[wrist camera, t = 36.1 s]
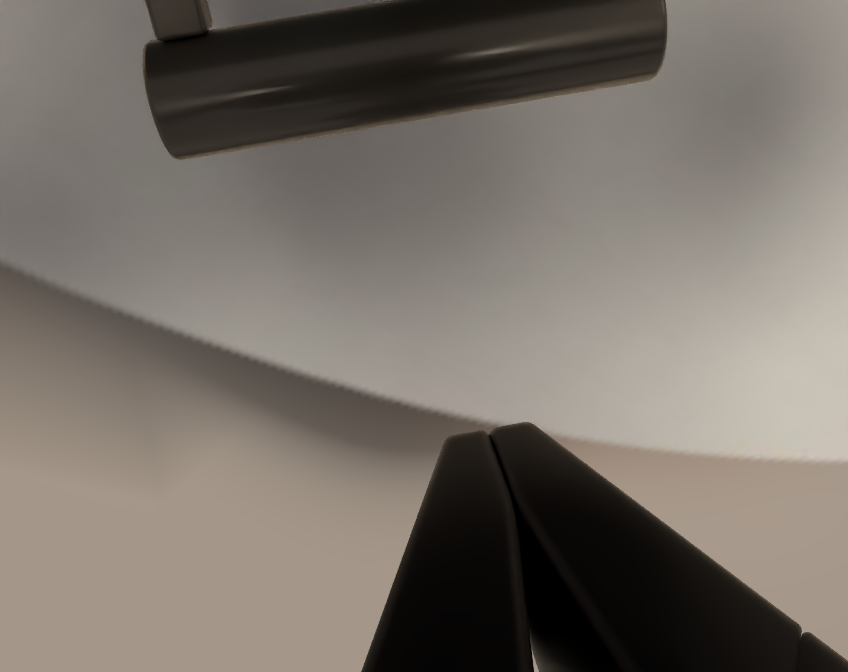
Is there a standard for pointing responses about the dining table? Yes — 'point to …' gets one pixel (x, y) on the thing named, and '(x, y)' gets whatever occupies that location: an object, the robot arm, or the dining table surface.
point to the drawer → (382, 64)
